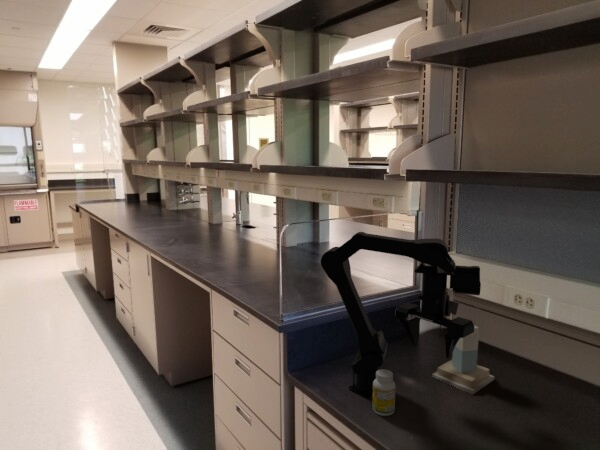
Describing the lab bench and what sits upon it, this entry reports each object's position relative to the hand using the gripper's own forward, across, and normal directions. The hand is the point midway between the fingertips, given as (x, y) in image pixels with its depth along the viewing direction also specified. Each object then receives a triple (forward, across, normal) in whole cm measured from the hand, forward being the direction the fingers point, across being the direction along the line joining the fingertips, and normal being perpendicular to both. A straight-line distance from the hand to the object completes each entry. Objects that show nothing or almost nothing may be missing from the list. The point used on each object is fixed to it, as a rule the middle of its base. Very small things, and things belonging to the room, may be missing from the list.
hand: (431, 351), depth 107 cm
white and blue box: (+10, 0, -17) cm, 20 cm away
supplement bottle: (+13, +5, +12) cm, 19 cm away
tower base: (+13, 0, -17) cm, 21 cm away
